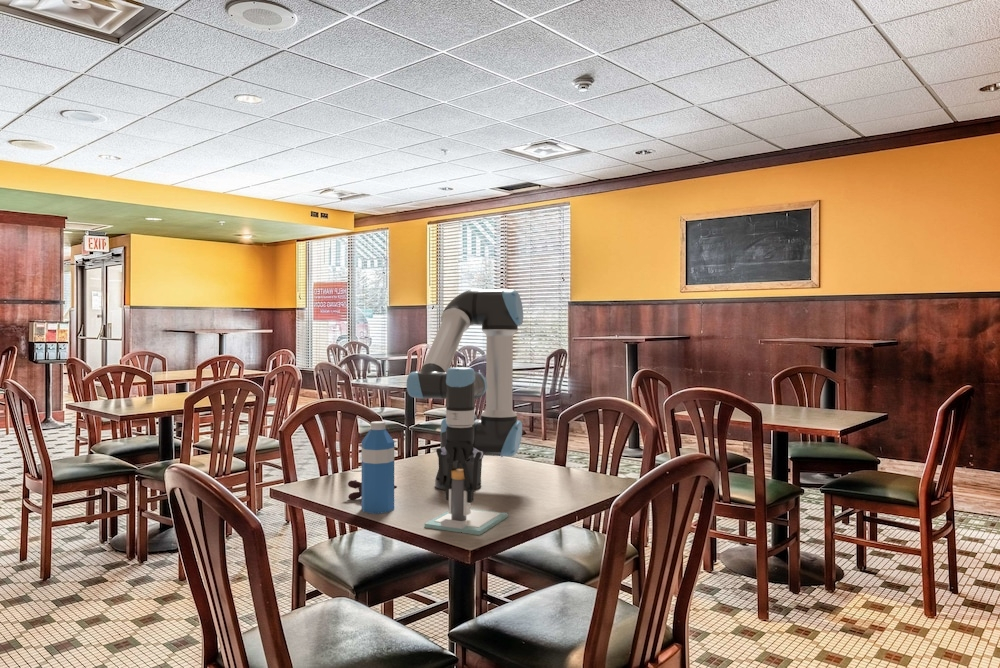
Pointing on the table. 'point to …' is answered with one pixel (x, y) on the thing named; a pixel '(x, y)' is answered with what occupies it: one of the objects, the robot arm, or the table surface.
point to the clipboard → (468, 522)
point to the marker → (458, 494)
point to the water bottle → (377, 470)
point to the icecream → (355, 485)
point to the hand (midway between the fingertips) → (459, 513)
